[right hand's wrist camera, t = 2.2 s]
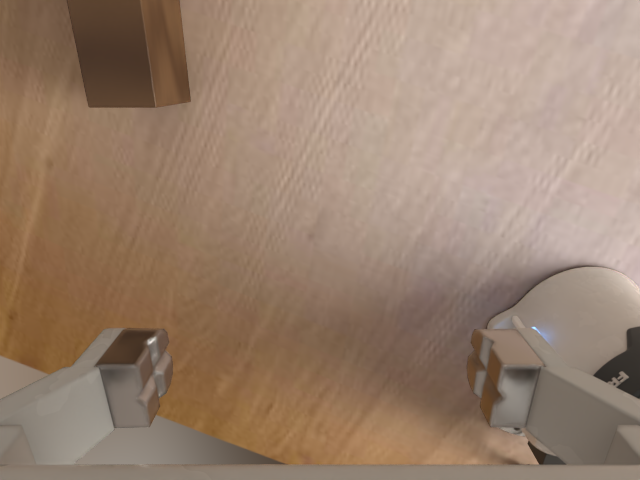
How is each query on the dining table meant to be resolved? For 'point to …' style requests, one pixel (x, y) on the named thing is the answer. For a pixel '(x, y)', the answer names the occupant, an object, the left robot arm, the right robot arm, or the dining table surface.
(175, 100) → the bar
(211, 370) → the dining table surface
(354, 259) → the dining table surface
